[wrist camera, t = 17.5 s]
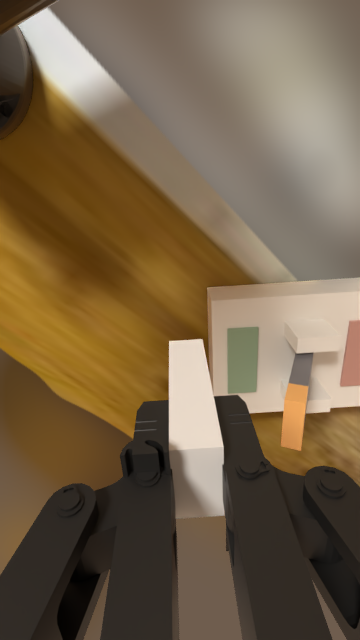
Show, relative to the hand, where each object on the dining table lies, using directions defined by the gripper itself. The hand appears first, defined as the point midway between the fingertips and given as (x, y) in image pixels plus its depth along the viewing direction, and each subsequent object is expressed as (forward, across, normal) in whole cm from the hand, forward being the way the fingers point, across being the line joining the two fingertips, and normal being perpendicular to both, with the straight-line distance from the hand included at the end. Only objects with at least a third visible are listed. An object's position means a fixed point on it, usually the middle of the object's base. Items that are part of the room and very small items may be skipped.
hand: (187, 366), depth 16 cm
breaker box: (+32, +16, -16) cm, 40 cm away
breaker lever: (+25, +16, -16) cm, 34 cm away
